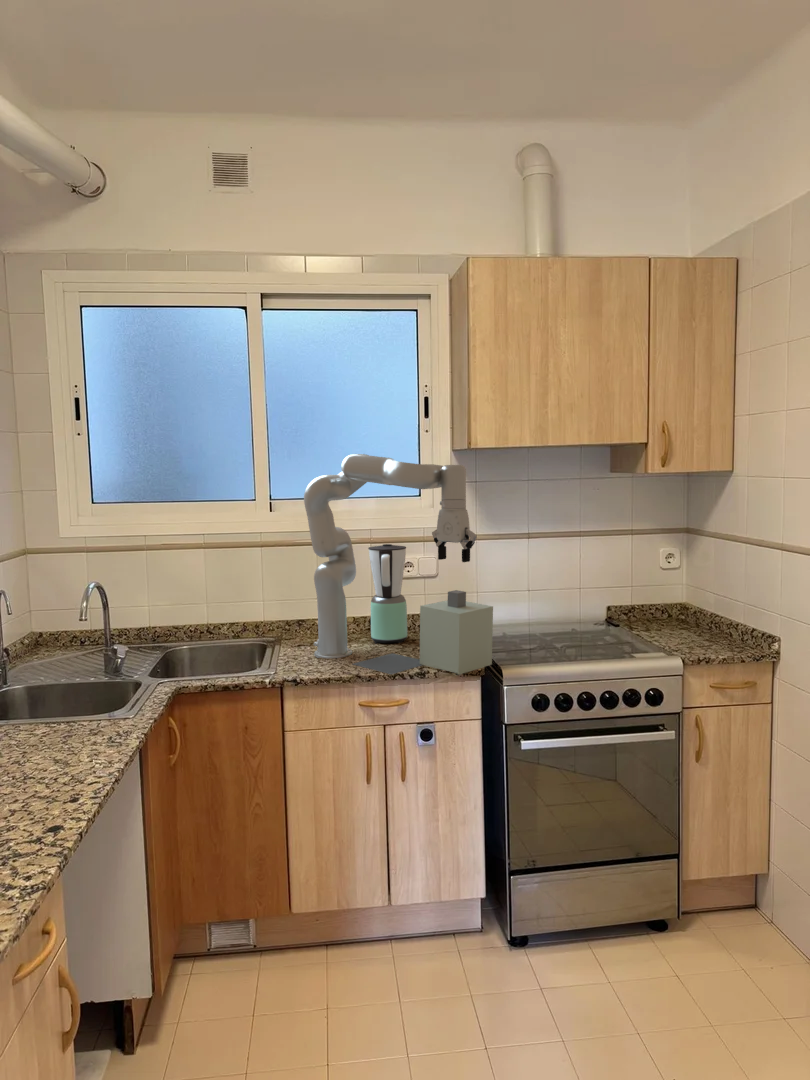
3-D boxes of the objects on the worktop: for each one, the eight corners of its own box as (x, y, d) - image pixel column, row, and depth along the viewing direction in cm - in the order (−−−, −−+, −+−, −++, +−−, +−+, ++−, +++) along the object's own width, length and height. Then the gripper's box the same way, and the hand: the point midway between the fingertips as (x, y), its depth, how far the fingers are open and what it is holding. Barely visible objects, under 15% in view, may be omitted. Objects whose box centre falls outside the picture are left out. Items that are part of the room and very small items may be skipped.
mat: (351, 665, 232) (351, 664, 232) (392, 654, 245) (392, 653, 245) (391, 676, 219) (391, 674, 219) (432, 664, 232) (432, 662, 232)
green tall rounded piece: (372, 636, 272) (370, 542, 269) (408, 636, 272) (406, 542, 269) (368, 649, 253) (365, 548, 250) (407, 648, 253) (405, 547, 250)
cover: (419, 663, 230) (420, 591, 228) (453, 654, 242) (454, 585, 239) (458, 674, 219) (459, 598, 216) (491, 664, 230) (493, 592, 228)
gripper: (424, 504, 229) (425, 559, 231) (467, 506, 217) (467, 564, 219) (440, 503, 234) (441, 557, 236) (483, 505, 222) (483, 561, 224)
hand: (453, 560), depth 227 cm, fingers open, 9 cm apart
